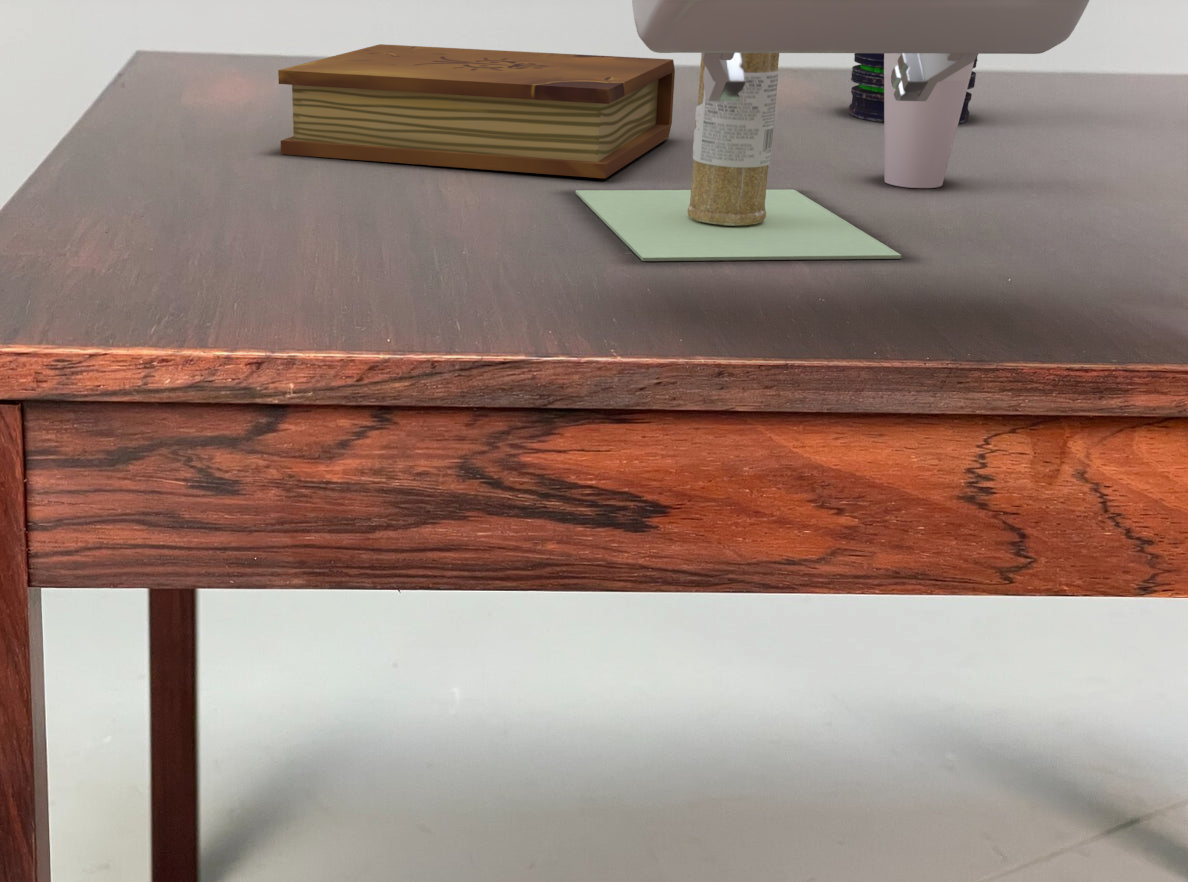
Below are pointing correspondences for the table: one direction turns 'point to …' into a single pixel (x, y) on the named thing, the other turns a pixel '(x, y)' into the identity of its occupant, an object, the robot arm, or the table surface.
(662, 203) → the mat
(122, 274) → the table surface
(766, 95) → the sprinkles bottle
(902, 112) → the smoothie
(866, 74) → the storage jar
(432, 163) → the diary
